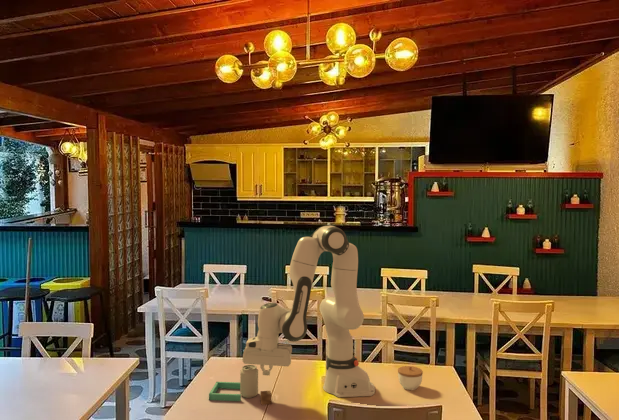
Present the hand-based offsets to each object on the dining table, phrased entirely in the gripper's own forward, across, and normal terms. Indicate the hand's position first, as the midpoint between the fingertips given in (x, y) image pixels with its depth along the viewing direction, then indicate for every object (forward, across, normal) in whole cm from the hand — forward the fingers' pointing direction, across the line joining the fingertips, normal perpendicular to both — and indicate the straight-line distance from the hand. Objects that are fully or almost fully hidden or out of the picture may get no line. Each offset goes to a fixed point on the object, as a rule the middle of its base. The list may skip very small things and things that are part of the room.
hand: (266, 374), depth 210 cm
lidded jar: (+7, -62, -15) cm, 64 cm away
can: (+9, +7, 0) cm, 12 cm away
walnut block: (+9, -1, +6) cm, 11 cm away
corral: (+9, +16, 0) cm, 19 cm away
